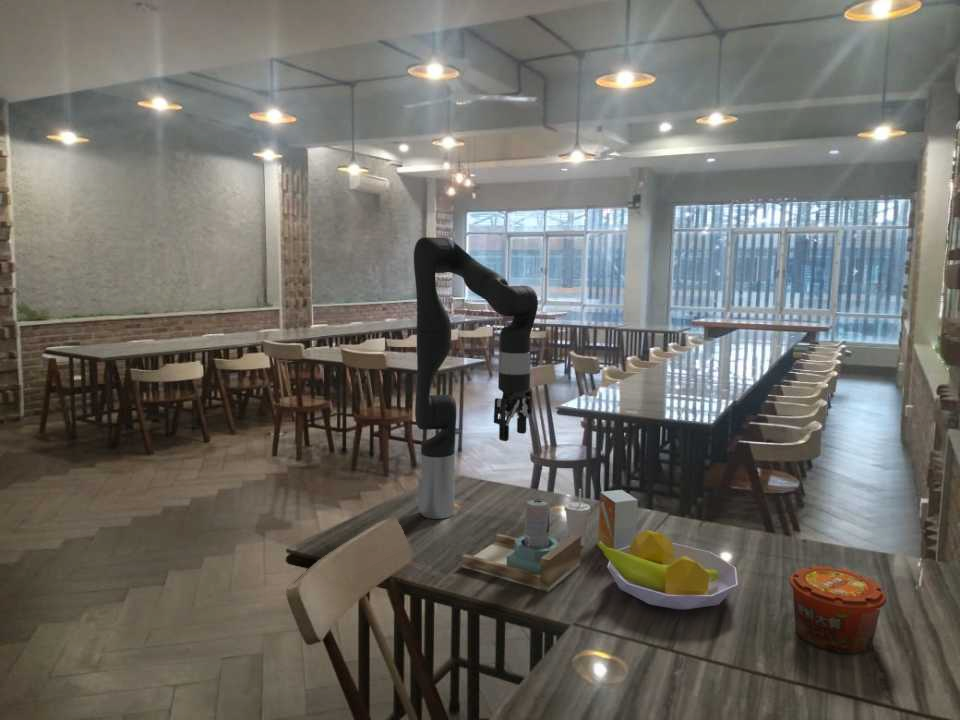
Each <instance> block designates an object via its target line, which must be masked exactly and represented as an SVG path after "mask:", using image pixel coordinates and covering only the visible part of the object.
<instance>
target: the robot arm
mask: <svg viewBox="0 0 960 720" xmlns="http://www.w3.org/2000/svg"><path fill="white" fill-rule="evenodd" d="M413 270H414V277H415V288H416V289H415V290H416V359H417V361H416V362H417V367H416V369H417V372H416V373H417V374H416V386H415V387H416V388H415V389H416V392H415V401H414V402H415V404H414V405H415V406H414V407H415V408H414V411H415V412H414V417H415V419H414V420H415V423H416V426H417V428H418V429H419V430H422V431H428V430H430V431H431V430H440V431H439V432H438V433H436V435H434V436H432V437H430V438H428V439H426V440H424V441H422V443H421V444H420V478H419V479H418V481H417V499H418V500H417V506H418V508H417V510H418V511H417V513H418V514H421V516H423V517H424V518H427V519H433V520H436V519H437V520H439V519H447V518H451V517H452V516H454V515H455V507H456V506H455V500H456V499H455V495H456V494H455V492H456V491H455V487H456V486H455V481H456V480H455V478H456V477H455V474H456V473H455V472H456V471H455V468H456V465H455V464H456V463H455V461H456V460H455V456H456V455H455V452H456V450H455V449H456V428H457V402H456V399H455V398H454V396H453V395H451V394H433V395H432V394H431V395H430V393H431V387H432V384H433V380H434V379H435V377H436V374H437V372H439V369H440V368H441V367H442V365H443V363H444V362H445V360H446V359H447V357H448V356H449V353H450V351H451V348H452V321H451V319H450V316H449V314H448V312H447V310H446V309H445V306H444V305H443V303H442V301H441V299H440V297H439V294H438V291H437V284H436V283H437V281H436V276H437V275H436V274H445V273H446V274H447V273H450V274H453V275H457V276H460V277H461V278H462V279H463V281H464V282H463V283H464V284H465V286H466V287H467V288H468V290H470V291H471V292H472V293H473V294H475V295H476V296H478V297H480V298H482V299H483V300H485V301H486V302H487V303H488V305H490V307H491V308H492V310H493V311H494V312H496V313H497V314H499V315H501V316H504V317H512V321H511V323H510V324H508V325H507V326H504V327H503V328H501V331H500V337H499V340H500V343H499V356H498V357H499V358H498V383H497V384H498V385H497V387H498V390H499V391H501V392H502V398H499V397H495V398H494V407H493V408H494V410H493V423H494V424H496V425H499V426H498V429H499V430H498V432H499V433H498V439H499V440H500V441H502V442H508V441H509V439H510V438H509V437H510V434H509V433H510V422H511V420H512V418H514V417H515V414H516V415H517V418H516V420H517V421H516V432H517V433H518V434H522V435H523V434H526V433H527V419H528V418H529V416H530V415H531V414H532V413H533V392H532V390H530V388H531V353H530V351H531V348H530V347H531V333H532V330H533V327H534V323H535V320H536V316H537V313H538V307H539V300H538V295H537V293H536V291H535V289H534V288H533V287H531V286H529V285H509V283H508V281H507V279H506V278H505V277H504V276H502V275H501V274H499V273H497V272H496V271H494V270H492V269H490V268H489V267H487V266H485V265H483V264H482V263H480V262H479V261H477V260H476V258H474V257H472V256H471V255H470V254H469V253H468V252H466V251H465V249H463V248H462V247H461V246H460V245H459V244H458V243H457V242H455V241H454V240H453V239H450V238H449V237H429V236H428V237H421V238H419V239H418V240H417V241H416V243H415V245H414V250H413Z"/></svg>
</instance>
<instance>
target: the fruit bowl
mask: <svg viewBox="0 0 960 720" xmlns="http://www.w3.org/2000/svg"><path fill="white" fill-rule="evenodd" d="M596 545H597V547H598V548H599V549H600V550H602V551H603V555H604V556H605V558H606V559H607V560H608V564H607V569H608V571H609V573H610V574H611V575H612V578H613V579H614V581H615V583H616V585H617V586H618V588H619V590H622V591H623V592H625V593H627V594H629V595H631V596H633V597H635V598H637V599H638V600H641V601H642V602H645V603H646V604H648V605H651V606H655V607H662V608H667V609H672V610H673V609H675V610H679V611H682V610H691V609H699V608H705V607H712V606H718V605H720V604H721V602H723V600H724V599H726V597H728V595H729V594H731V593H732V591H733V590H734V589H736V588H737V586H738V584H739V583H738V574H737V567H735V566H734V565H733V564H731V563H729V562H728V561H727V560H724V559H723V558H721V557H720V556H718V555H716V554H715V553H714V552H712V551H708V550H704V549H700V548H699V549H698V548H696V547H691V546H688V545H683V544H679V543H675V542H672V540H671V539H669V538H668V537H667V536H666V535H664V533H661V532H657V531H652V530H649V529H644V530H643V531H642V532H640V533H639V534H638V533H637V535H636V536H635V537H634V539H633V541H632V543H631V545H630V546H627V547H624V548H621V549H618V550H615V549H612V548H609V547H606V546H605V545H604V544H603V543H602V542H599V541H598V542H597V543H596Z"/></svg>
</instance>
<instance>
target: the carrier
mask: <svg viewBox="0 0 960 720" xmlns="http://www.w3.org/2000/svg"><path fill="white" fill-rule="evenodd" d="M559 544H560V543H559V542H558V541H557V539H556V537H554V536H553V537H552V536H549V548H547V549H532V548H528V547H525V534H524V535H521V536H520V537H519V538H518V539H517V540H516V541H515V551H513V552H512V553H510V554H509V555H507V566H511V567H514V568H518V569H522V570H525V571H529V572H533V573H536V574H540V566H541V558H542V557H543V556H544V555H546V554H547V553H548V552H550V551H551V550H552V549H554V548H555V547H556V546H558V545H559Z"/></svg>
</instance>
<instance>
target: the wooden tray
mask: <svg viewBox="0 0 960 720" xmlns="http://www.w3.org/2000/svg"><path fill="white" fill-rule="evenodd" d="M517 539H519V538H518V537H514V536H509V535H505V534H501V533H497V534H495V542H493V543H492V544H490V545H489V546H487V547H486V548H483V549H482V550H481V551H479V552H477V553H476V554H474V555H470V554H467V553H464V554H462V556H461V567H462V568H464V569H467V570H471V571H475V572H478V573H481V574H485V575H487V576H492V577H494V578H495V577H496V578H499V579H503V580H505V581H509V582H512V583H517V584H520V585H523V586H527V587H530V588H535V589H537V590H540V591H544V592H547V593H549V592H550V591H551V590H552V589H554V588H555V587H556V586H557V585H558V584H560V583H561V582H562V581H563V580H565V578H567V577H568V576H569V575H570V574H571V573H572V572H573V571H575V570H576V569H578V567H580V566H581V552H582V551H581V548H582V546H581V536H579V535H575V534H572V535H571V536H570V537H568V536H567V538H565V539H564V540H563V541H561V542H560V543H559V545H558V546H556V547H555V548H554V549H552V550H551V551H550V552H548V553H547V554H546V555H544V556H543V557H542V558H541V566H540V574H536V573H533V572H529V571H525V570H522V569H518V568H514V567H511V566H507V555H509V554H510V553H512V552H513V551H515V541H516V540H517Z"/></svg>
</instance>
